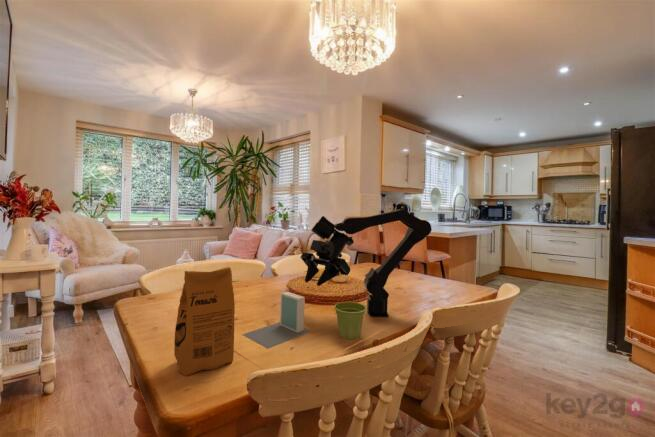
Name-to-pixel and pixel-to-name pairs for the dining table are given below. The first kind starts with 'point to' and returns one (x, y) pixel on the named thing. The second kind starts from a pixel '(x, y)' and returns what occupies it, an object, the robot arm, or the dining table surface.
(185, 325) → the coffee package
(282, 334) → the mat
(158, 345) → the dining table surface
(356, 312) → the plant pot
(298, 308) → the white flat block
